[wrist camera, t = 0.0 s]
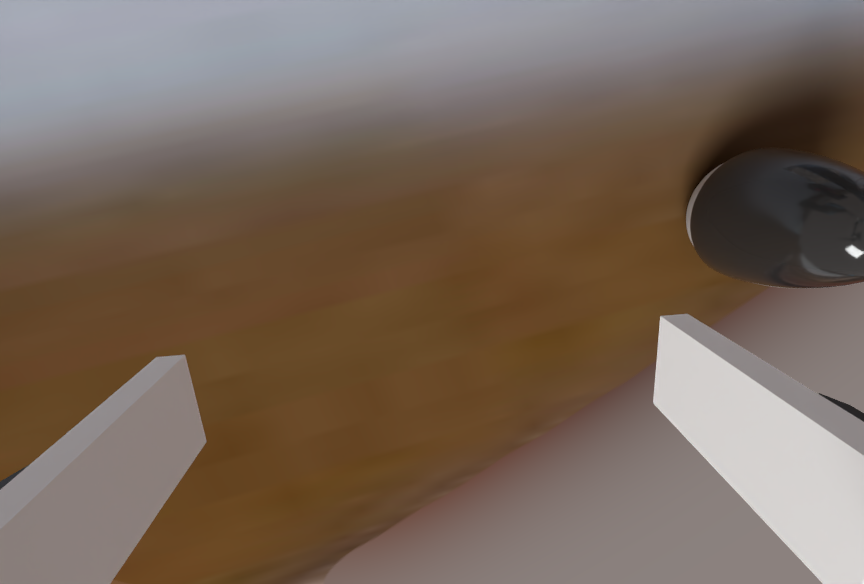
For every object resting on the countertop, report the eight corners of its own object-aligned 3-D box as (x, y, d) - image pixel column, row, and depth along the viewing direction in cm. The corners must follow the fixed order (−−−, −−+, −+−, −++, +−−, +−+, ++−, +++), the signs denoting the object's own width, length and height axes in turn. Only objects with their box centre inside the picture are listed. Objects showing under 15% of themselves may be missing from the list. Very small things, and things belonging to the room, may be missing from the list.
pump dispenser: (802, 155, 40) (1027, 161, 25) (758, 273, 43) (937, 340, 28) (688, 134, 39) (854, 130, 24) (651, 257, 42) (780, 317, 27)
